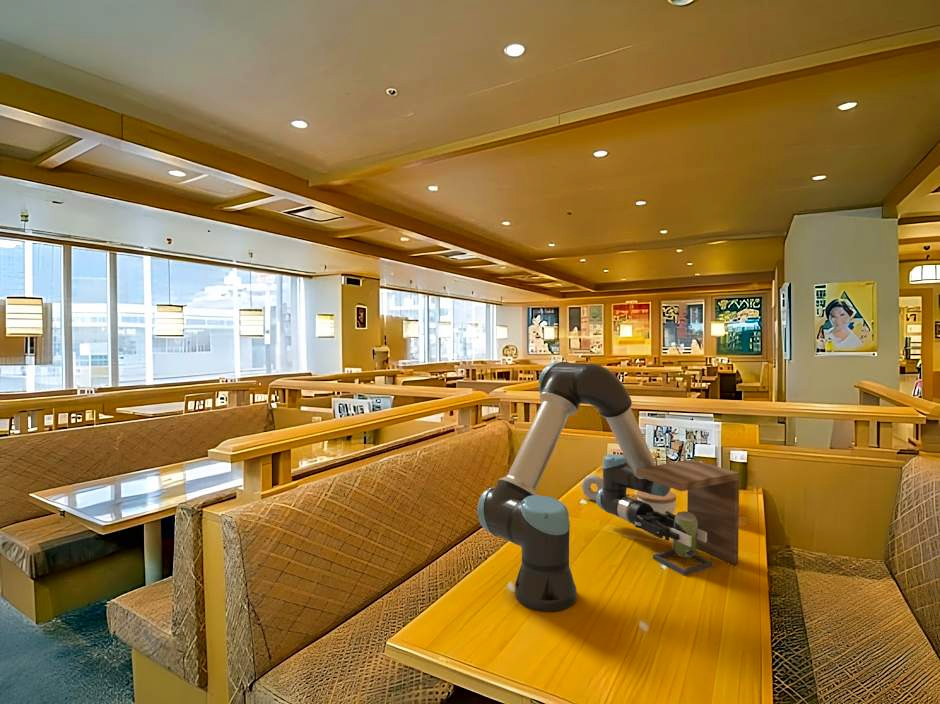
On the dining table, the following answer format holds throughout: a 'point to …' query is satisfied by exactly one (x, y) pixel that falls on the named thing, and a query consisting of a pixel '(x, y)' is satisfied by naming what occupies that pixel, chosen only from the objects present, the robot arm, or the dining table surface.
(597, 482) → the donut
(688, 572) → the grey square frame
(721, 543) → the walnut shelf
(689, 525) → the beverage can
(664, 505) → the lidded bowl
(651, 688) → the dining table surface
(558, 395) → the robot arm
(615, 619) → the dining table surface
